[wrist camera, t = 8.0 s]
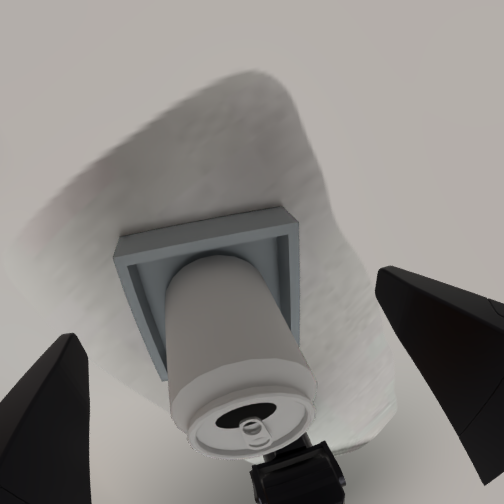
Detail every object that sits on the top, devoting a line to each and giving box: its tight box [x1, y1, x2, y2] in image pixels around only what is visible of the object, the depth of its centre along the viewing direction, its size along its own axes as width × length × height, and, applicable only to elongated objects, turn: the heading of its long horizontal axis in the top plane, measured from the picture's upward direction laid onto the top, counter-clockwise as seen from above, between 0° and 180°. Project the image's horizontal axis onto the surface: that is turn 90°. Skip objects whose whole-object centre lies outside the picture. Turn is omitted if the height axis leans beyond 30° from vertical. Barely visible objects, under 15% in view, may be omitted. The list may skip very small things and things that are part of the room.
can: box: [165, 255, 317, 460], centre depth 18 cm, size 8×8×12 cm
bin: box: [113, 206, 300, 381], centre depth 22 cm, size 11×11×3 cm
